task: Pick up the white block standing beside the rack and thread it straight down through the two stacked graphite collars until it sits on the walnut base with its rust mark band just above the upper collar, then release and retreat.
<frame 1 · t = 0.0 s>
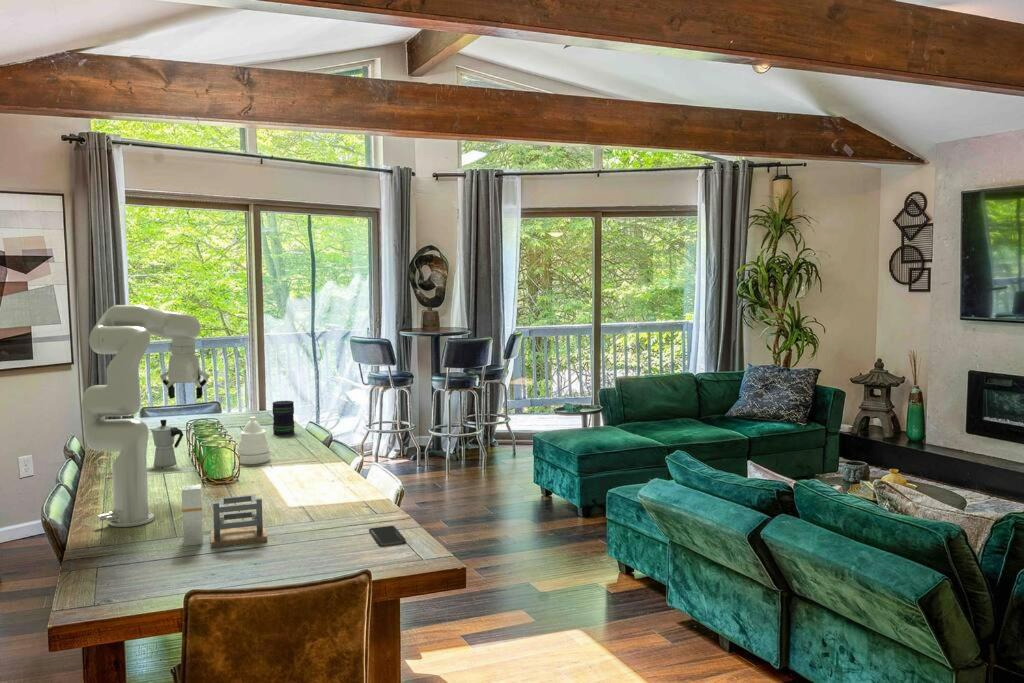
hand: (185, 398, 293), 31 cm above the table, tool pointing down, fingers open, 9 cm apart
white block: (193, 542, 231), on the table
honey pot: (253, 460, 332), on the table
collar rack: (238, 538, 234), on the table
storage jar: (283, 433, 386), on the table
coffee maker: (167, 465, 325), on the table
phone: (387, 538, 235), on the table
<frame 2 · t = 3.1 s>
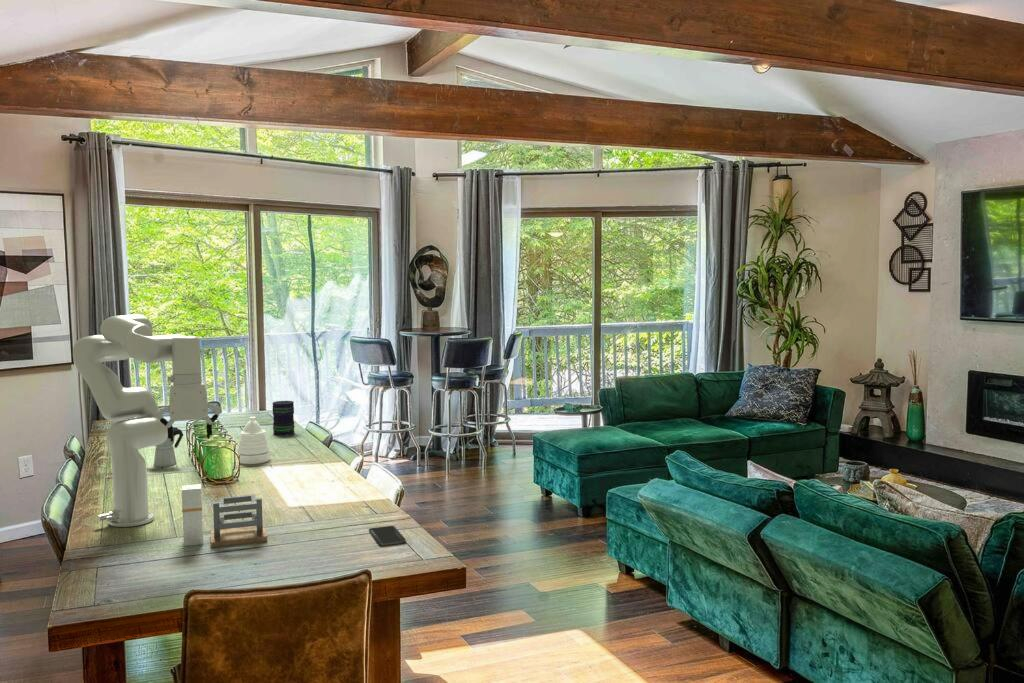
hand: (190, 439, 232), 29 cm above the table, tool pointing down, fingers open, 9 cm apart
nothing on the table moved.
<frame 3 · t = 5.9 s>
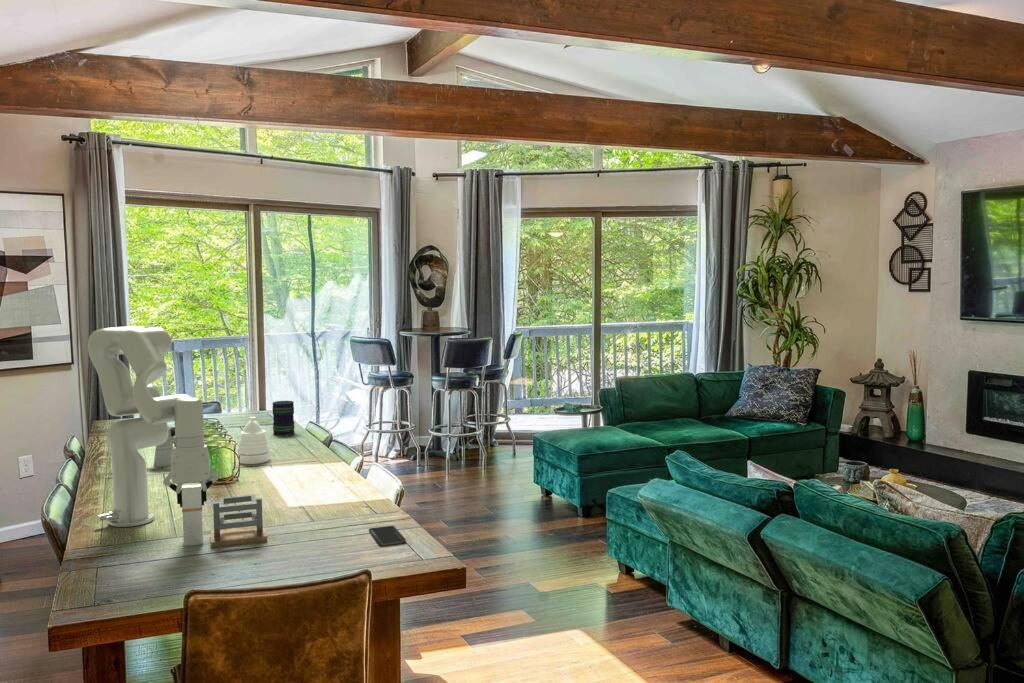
hand: (192, 504, 230), 11 cm above the table, tool pointing down, fingers closed on white block, 5 cm apart
white block: (193, 542, 231), on the table, touching gripper
everything else where it was.
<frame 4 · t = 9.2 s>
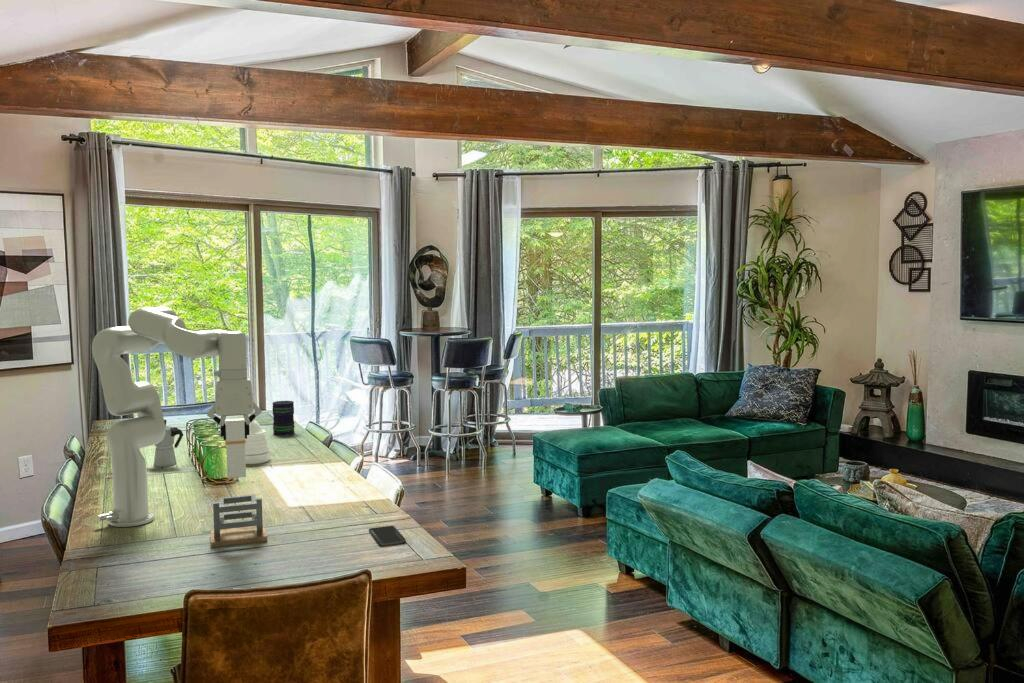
hand: (235, 437, 232), 29 cm above the table, tool pointing down, fingers closed on white block, 5 cm apart
white block: (236, 475, 233), point 18 cm above the table, touching gripper
everything else where it was.
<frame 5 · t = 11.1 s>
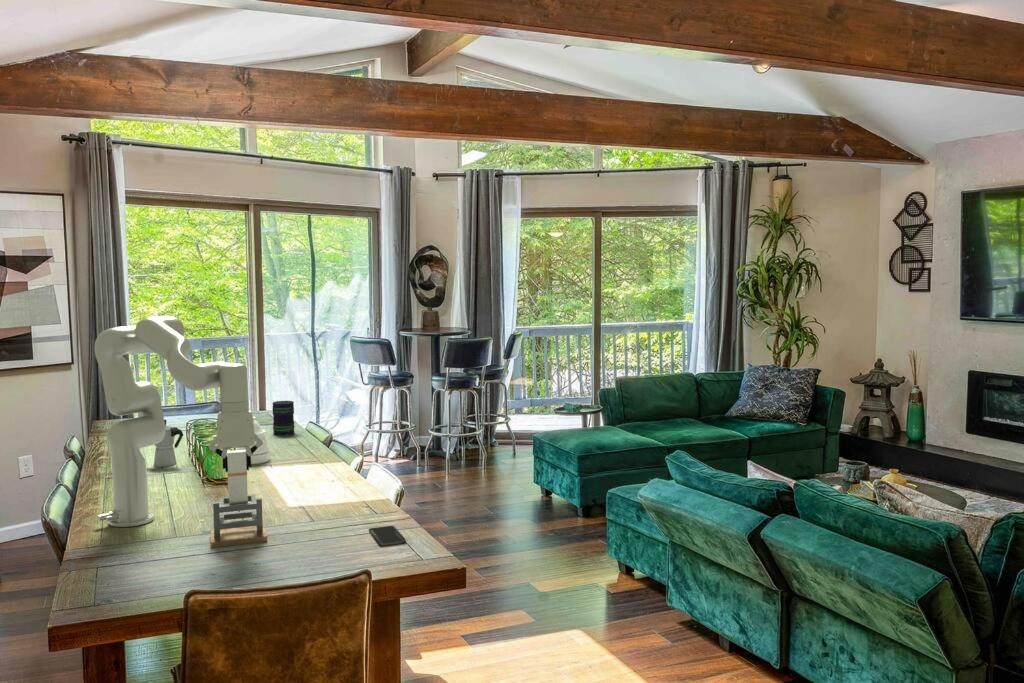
hand: (237, 469, 233), 20 cm above the table, tool pointing down, fingers closed on white block, 5 cm apart
white block: (238, 507, 233), point 9 cm above the table, touching gripper
everything else where it was.
when the fingers open (13 cm above the table, at t = 12.6 s): white block stays where it is, resting on collar rack.
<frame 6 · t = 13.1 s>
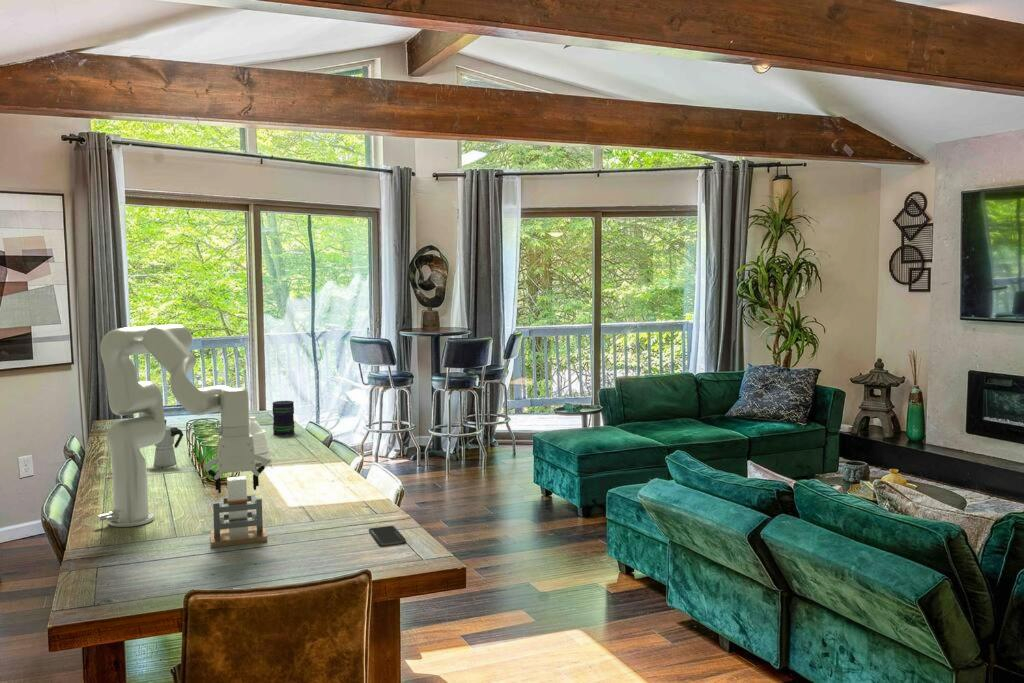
hand: (237, 490, 233), 14 cm above the table, tool pointing down, fingers open, 9 cm apart
white block: (238, 533, 234), point 1 cm above the table, touching collar rack
everything else where it was.
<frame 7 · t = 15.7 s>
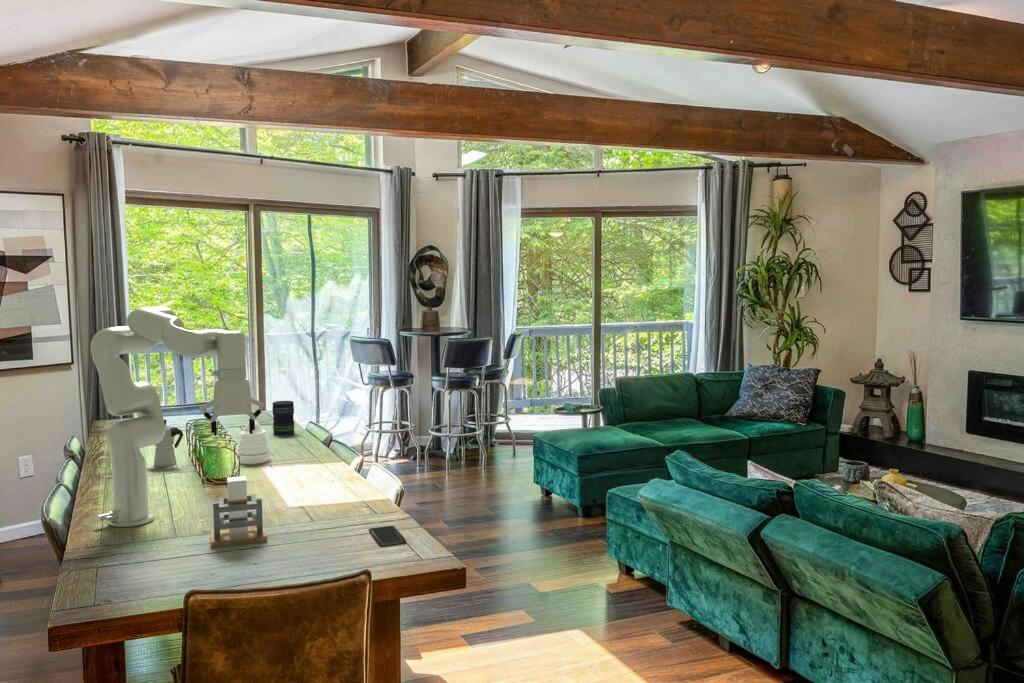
hand: (233, 434, 232), 30 cm above the table, tool pointing down, fingers open, 9 cm apart
nothing on the table moved.
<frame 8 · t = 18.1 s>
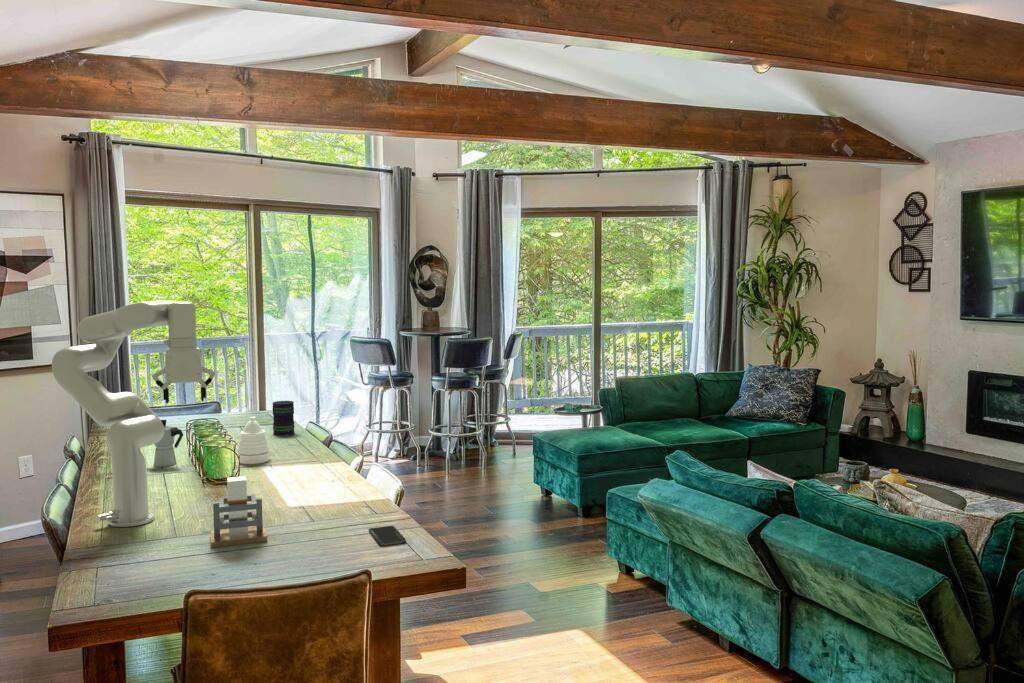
hand: (185, 401, 241), 38 cm above the table, tool pointing down, fingers open, 9 cm apart
nothing on the table moved.
at the end: white block 0.1 cm off-centre on the collar rack, point 1.5 cm above the collar rack's base; white block tilted 0°; the gripper is holding nothing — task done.
